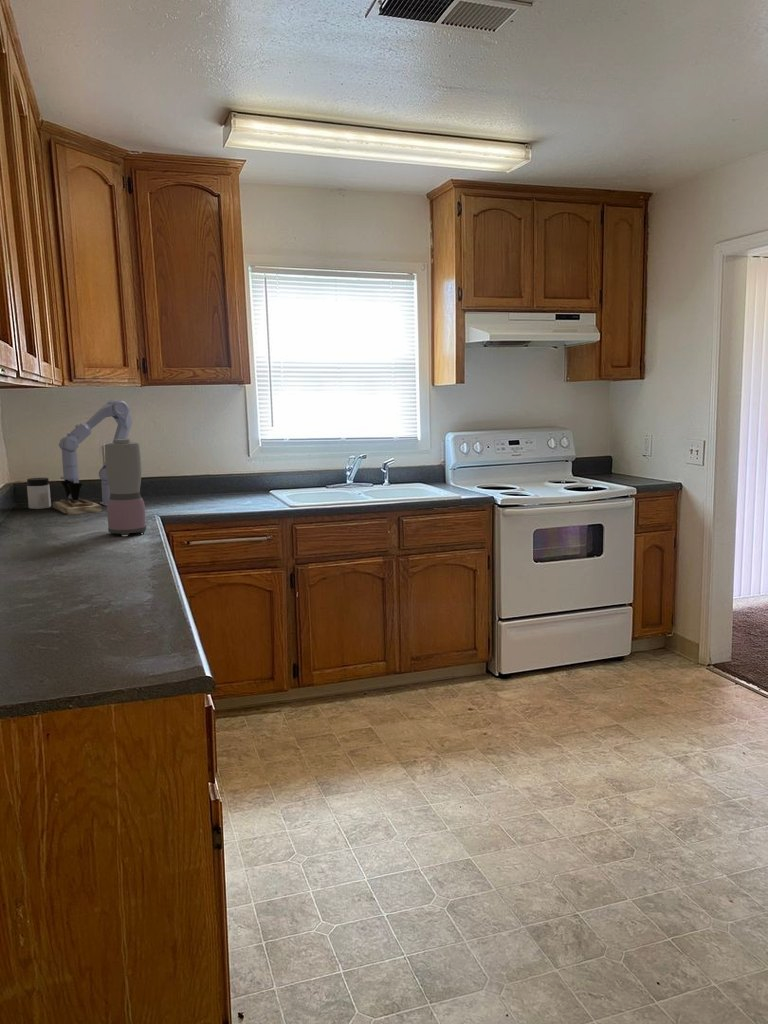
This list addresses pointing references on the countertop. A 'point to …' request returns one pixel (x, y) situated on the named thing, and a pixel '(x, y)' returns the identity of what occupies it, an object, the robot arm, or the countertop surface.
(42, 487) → the jar
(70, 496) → the ball
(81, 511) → the board
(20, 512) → the countertop surface
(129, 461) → the blender
